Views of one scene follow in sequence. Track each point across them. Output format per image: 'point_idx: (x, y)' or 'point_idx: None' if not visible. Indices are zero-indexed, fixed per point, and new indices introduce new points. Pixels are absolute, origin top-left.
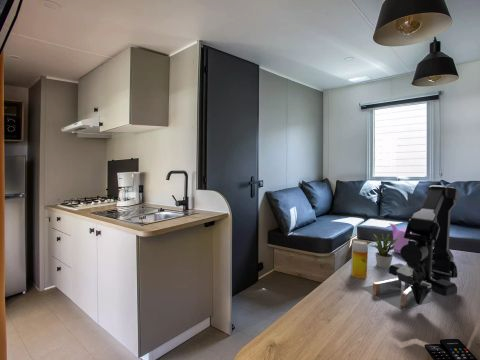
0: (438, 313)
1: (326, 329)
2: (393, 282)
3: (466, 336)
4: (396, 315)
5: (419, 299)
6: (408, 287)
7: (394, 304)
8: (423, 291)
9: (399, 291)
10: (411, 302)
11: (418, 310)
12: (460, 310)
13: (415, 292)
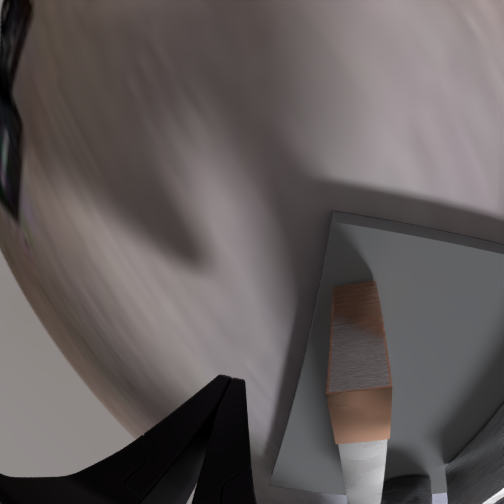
0: None
1: None
2: (494, 482)
3: (29, 278)
4: (326, 115)
5: (185, 411)
6: (407, 496)
7: (430, 269)
8: (66, 477)
9: (449, 451)
10: None
11: (278, 363)
12: None
13: (203, 476)
